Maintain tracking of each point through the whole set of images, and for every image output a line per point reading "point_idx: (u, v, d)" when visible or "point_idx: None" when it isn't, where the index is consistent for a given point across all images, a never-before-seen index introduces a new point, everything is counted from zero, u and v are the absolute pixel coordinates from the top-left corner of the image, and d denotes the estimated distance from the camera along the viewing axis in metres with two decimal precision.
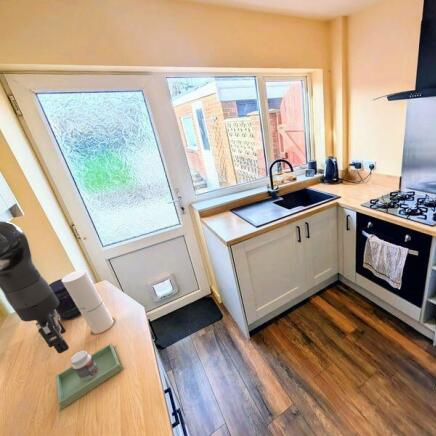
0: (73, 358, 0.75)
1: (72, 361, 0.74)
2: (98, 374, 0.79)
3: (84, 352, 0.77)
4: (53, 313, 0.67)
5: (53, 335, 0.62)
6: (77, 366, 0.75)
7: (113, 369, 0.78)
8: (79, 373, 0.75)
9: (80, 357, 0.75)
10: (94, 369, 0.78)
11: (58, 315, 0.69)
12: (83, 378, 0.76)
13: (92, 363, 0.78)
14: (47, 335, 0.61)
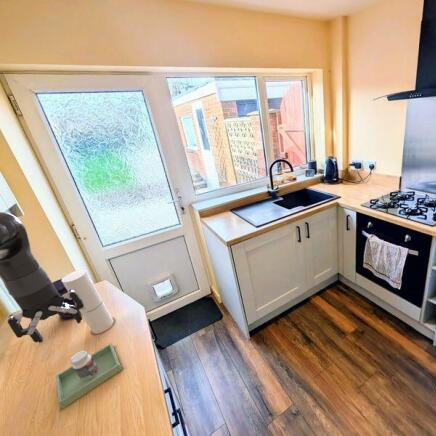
0: (73, 358, 0.75)
1: (72, 361, 0.74)
2: (98, 374, 0.79)
3: (84, 352, 0.77)
4: None
5: None
6: (77, 366, 0.75)
7: (113, 369, 0.78)
8: (79, 373, 0.75)
9: (80, 357, 0.75)
10: (94, 369, 0.78)
11: (64, 310, 0.69)
12: (83, 378, 0.76)
13: (92, 363, 0.78)
14: None
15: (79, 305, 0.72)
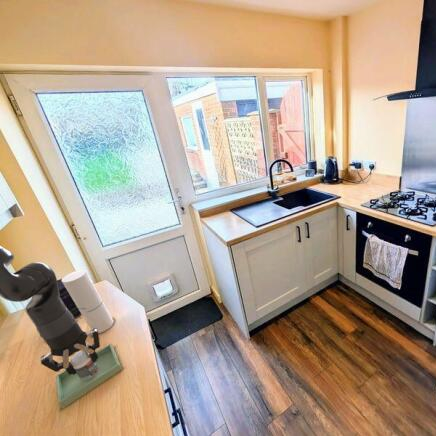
0: (73, 358, 0.75)
1: (72, 361, 0.74)
2: (98, 374, 0.79)
3: (84, 352, 0.77)
4: None
5: None
6: (77, 366, 0.75)
7: (113, 369, 0.78)
8: (79, 373, 0.75)
9: (80, 357, 0.75)
10: (94, 369, 0.78)
11: (84, 349, 0.75)
12: (83, 378, 0.76)
13: (92, 363, 0.78)
14: None
15: (95, 345, 0.77)
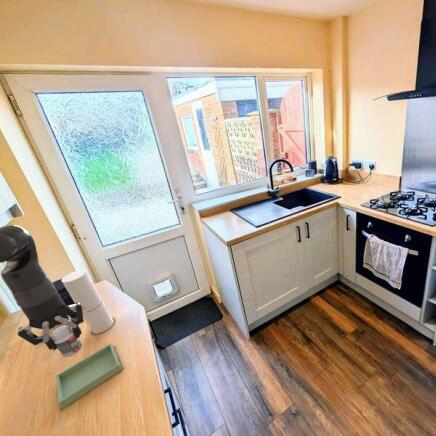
0: (54, 332, 0.70)
1: (53, 335, 0.69)
2: (98, 374, 0.79)
3: (66, 326, 0.72)
4: None
5: None
6: (58, 341, 0.70)
7: (113, 369, 0.78)
8: (60, 348, 0.71)
9: (61, 331, 0.71)
10: (77, 345, 0.73)
11: (66, 322, 0.70)
12: (65, 354, 0.72)
13: (75, 338, 0.73)
14: None
15: (79, 320, 0.73)
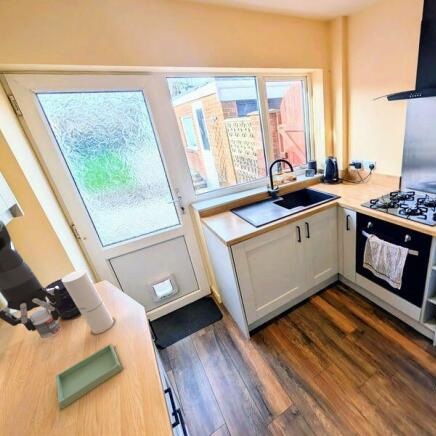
0: (33, 314, 0.74)
1: (31, 317, 0.73)
2: (98, 374, 0.79)
3: (45, 309, 0.76)
4: None
5: None
6: (36, 322, 0.73)
7: (113, 369, 0.78)
8: (39, 330, 0.74)
9: (40, 313, 0.74)
10: (56, 327, 0.77)
11: (44, 305, 0.74)
12: (43, 335, 0.75)
13: (53, 321, 0.77)
14: None
15: (57, 303, 0.76)
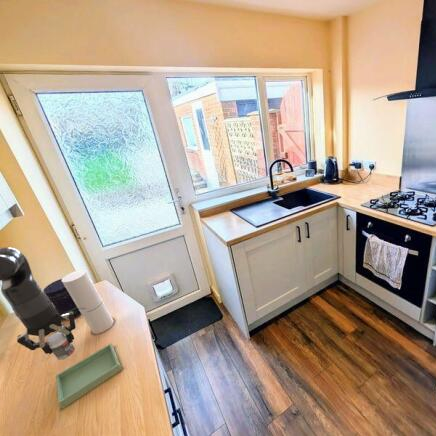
0: (49, 338, 0.80)
1: (48, 341, 0.79)
2: (98, 374, 0.79)
3: (60, 333, 0.81)
4: None
5: None
6: (53, 346, 0.79)
7: (113, 369, 0.78)
8: (55, 352, 0.80)
9: (56, 337, 0.80)
10: (70, 349, 0.83)
11: (60, 330, 0.79)
12: (59, 357, 0.81)
13: (68, 343, 0.82)
14: None
15: (71, 327, 0.82)
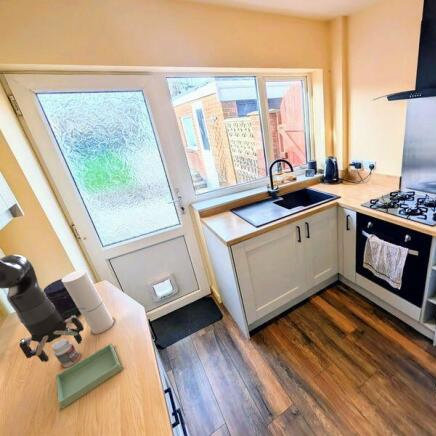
0: (55, 345, 0.81)
1: (53, 348, 0.80)
2: (98, 374, 0.79)
3: (65, 340, 0.83)
4: None
5: None
6: (58, 353, 0.80)
7: (113, 369, 0.78)
8: (60, 359, 0.81)
9: (61, 344, 0.81)
10: (75, 356, 0.84)
11: (66, 333, 0.81)
12: (64, 364, 0.82)
13: (73, 350, 0.83)
14: None
15: (79, 328, 0.83)
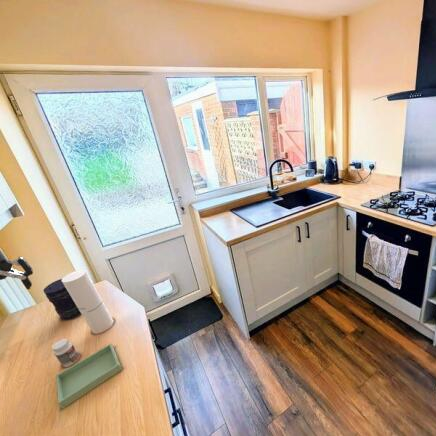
0: (55, 345, 0.81)
1: (53, 348, 0.80)
2: (98, 374, 0.79)
3: (65, 340, 0.83)
4: None
5: None
6: (58, 353, 0.80)
7: (113, 369, 0.78)
8: (60, 359, 0.81)
9: (61, 344, 0.81)
10: (75, 356, 0.84)
11: (12, 275, 0.74)
12: (64, 364, 0.82)
13: (73, 350, 0.83)
14: None
15: (28, 272, 0.76)
